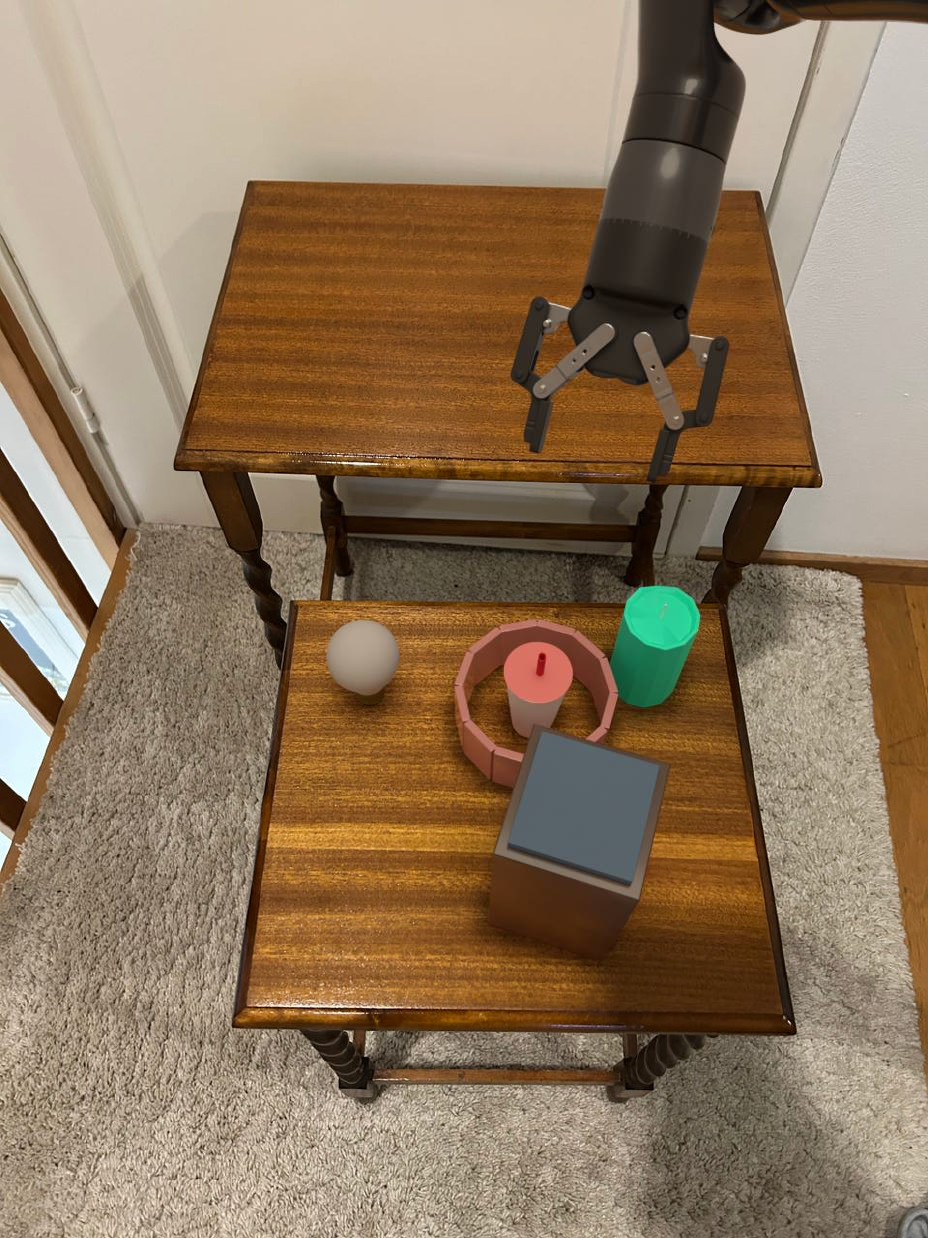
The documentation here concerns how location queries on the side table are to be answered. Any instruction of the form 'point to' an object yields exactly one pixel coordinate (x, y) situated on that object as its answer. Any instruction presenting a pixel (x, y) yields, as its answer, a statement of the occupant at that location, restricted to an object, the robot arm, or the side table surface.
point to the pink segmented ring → (494, 653)
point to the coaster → (585, 807)
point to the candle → (653, 644)
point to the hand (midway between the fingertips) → (592, 466)
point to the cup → (536, 684)
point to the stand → (565, 879)
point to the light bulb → (363, 659)
